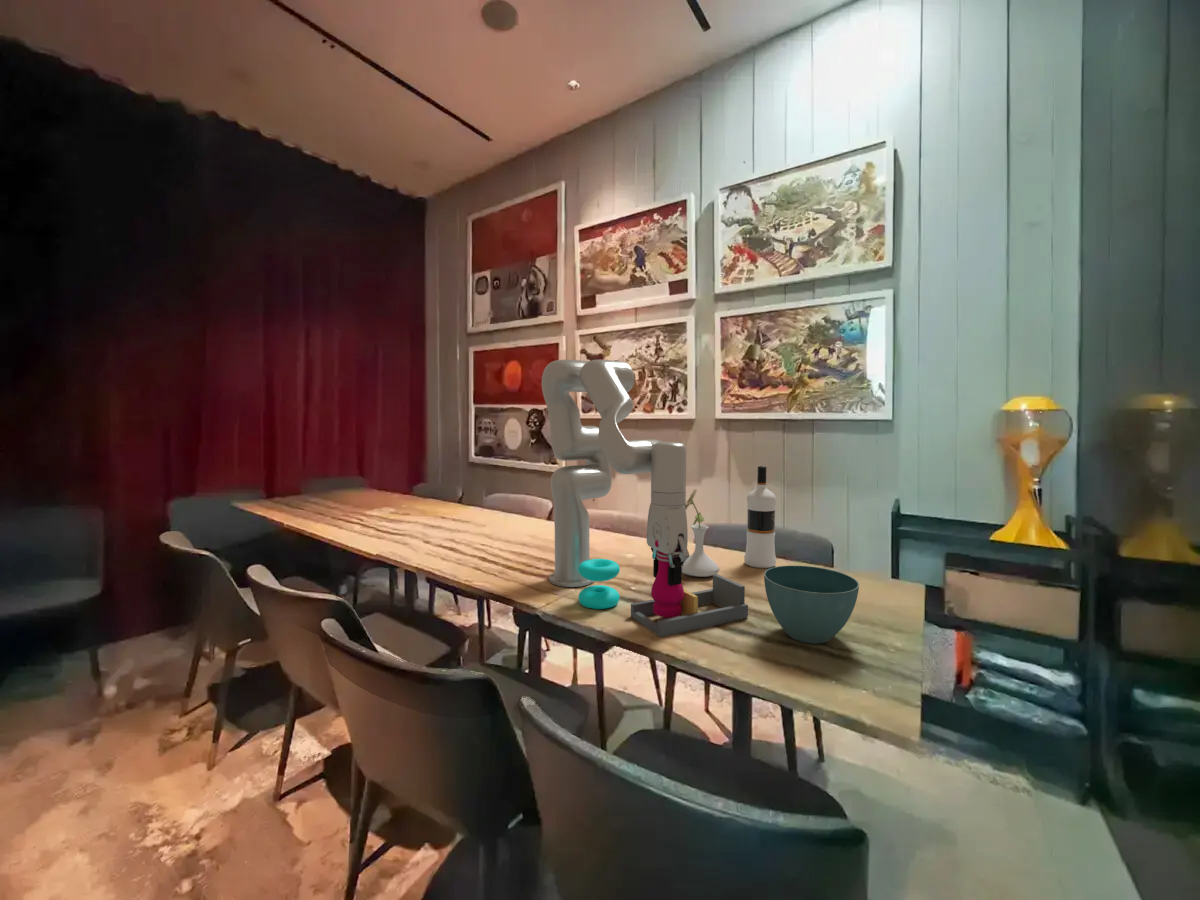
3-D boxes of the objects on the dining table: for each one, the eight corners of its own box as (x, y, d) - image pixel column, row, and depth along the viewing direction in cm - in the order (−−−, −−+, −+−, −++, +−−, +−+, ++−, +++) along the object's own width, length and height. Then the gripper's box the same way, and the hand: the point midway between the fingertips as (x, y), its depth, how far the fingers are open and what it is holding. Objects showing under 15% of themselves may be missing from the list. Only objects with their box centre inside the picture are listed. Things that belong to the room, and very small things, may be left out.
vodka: (740, 560, 168) (742, 464, 166) (770, 560, 168) (772, 464, 166) (749, 569, 159) (751, 467, 156) (780, 569, 159) (783, 467, 157)
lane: (630, 616, 122) (630, 586, 122) (713, 600, 132) (713, 572, 132) (660, 637, 111) (660, 604, 111) (747, 618, 121) (748, 587, 121)
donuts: (615, 556, 136) (623, 567, 126) (615, 595, 137) (623, 609, 127) (576, 558, 134) (580, 570, 124) (576, 597, 135) (581, 612, 125)
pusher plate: (669, 609, 125) (669, 584, 125) (673, 609, 126) (673, 583, 125) (693, 624, 117) (694, 597, 116) (697, 623, 117) (697, 596, 117)
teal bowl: (846, 622, 119) (847, 568, 118) (867, 659, 101) (869, 595, 100) (760, 615, 123) (761, 562, 122) (766, 650, 105) (767, 588, 104)
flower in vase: (689, 566, 162) (690, 483, 160) (725, 572, 155) (727, 486, 153) (668, 577, 151) (669, 488, 149) (706, 584, 145) (707, 492, 143)
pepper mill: (675, 621, 114) (676, 528, 113) (645, 614, 118) (645, 524, 117) (689, 610, 120) (690, 522, 119) (659, 604, 124) (660, 518, 123)
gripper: (634, 494, 123) (633, 572, 125) (675, 506, 108) (674, 595, 110) (661, 492, 127) (661, 567, 128) (706, 504, 111) (704, 589, 113)
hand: (667, 579), depth 119 cm, fingers closed on pepper mill, 5 cm apart
